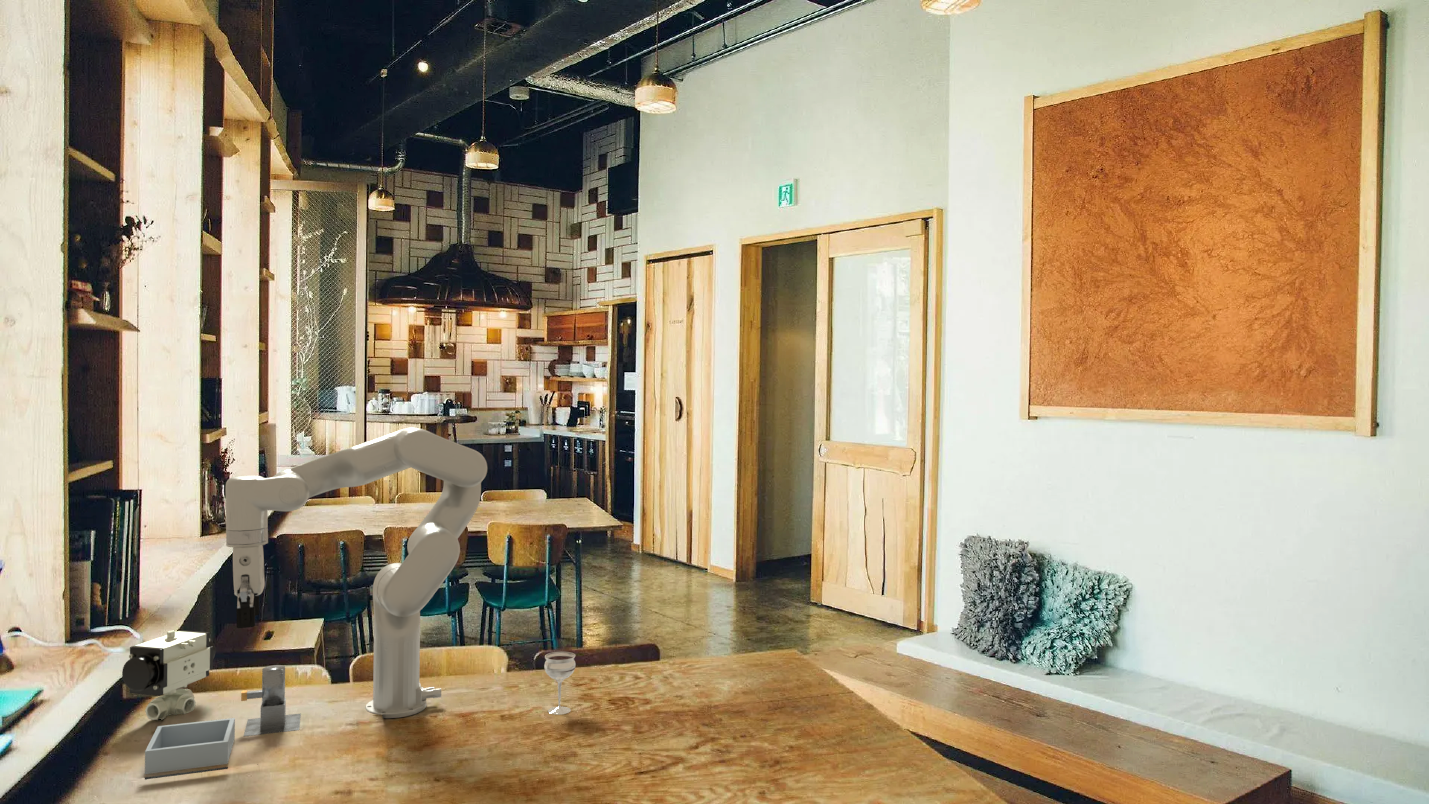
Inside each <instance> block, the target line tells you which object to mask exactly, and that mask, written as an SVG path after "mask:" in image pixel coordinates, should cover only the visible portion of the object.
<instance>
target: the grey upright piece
mask: <svg viewBox="0 0 1429 804" xmlns="http://www.w3.org/2000/svg"><path fill="white" fill-rule="evenodd" d="M261 671H262V673H261V674H262V675H261V678H262V679H261V680H262V681H261V682H262V683H261V690H260V689H259V690H249V691H248V690H241V692H240V697H241V699H240V701H241V702H245V701H246V702H247V701H248V700H251V699H252V700H253V699H261V705H260V717H259V718H260V730H261V729H270V728H279V727H285V720H286V715H287V714H286V711H287V705H286V704H287V703H286V701H287V698H286V666H285V665H281V664H274V665H268V666H264V667H263V668H262V669H261Z"/></svg>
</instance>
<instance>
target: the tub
mask: <svg viewBox="0 0 1429 804" xmlns="http://www.w3.org/2000/svg"><path fill="white" fill-rule="evenodd" d="M235 720H236V718H235V717H232V718H231V717H229V718H222V719H214V720H212V719H211V720H203V721H195V722H184V723H177V724H176V723H174V724H167V725H157V727H156V729H155V732H154V733H153V735H152V737H151V738H150V741H149V743H148V745H147V747H146V749H145V750H144V775H150V774H158V773H164V772H165V773H166V772H173V771H181V770H190V769H195V768H198V769H199V768H204V767H205V768H206V767H213V766H221V765H228V763H229V760H230V756H231V753H232V749H233V746H234V742H235V737H236V736H235V735H236V733H235V731H236V729H235V728H236V721H235ZM228 769H229V767H228V766H224V767H216V768H210V769H202V770H192V771H185V772H177V773H170V774H161V775H160V774H159V775H153V776H145V777H144V780H152V779H160V778H166V777H168V778H169V777H175V776H184V775H189V774H190V775H191V774H199V773H206V772H207V773H208V772H215V771H224V770H228Z"/></svg>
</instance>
